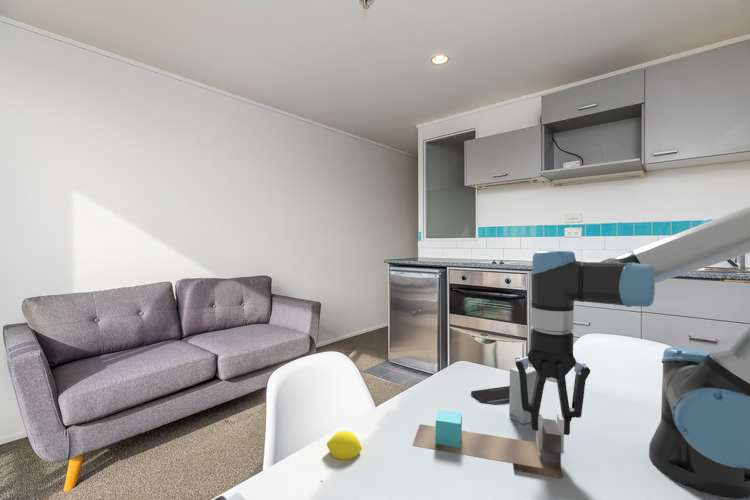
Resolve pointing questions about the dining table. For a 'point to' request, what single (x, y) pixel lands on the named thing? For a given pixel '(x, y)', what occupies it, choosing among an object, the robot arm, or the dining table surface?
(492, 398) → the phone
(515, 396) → the skincare box
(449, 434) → the teal block
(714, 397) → the robot arm
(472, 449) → the walnut strip
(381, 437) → the dining table surface
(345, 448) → the lemon
